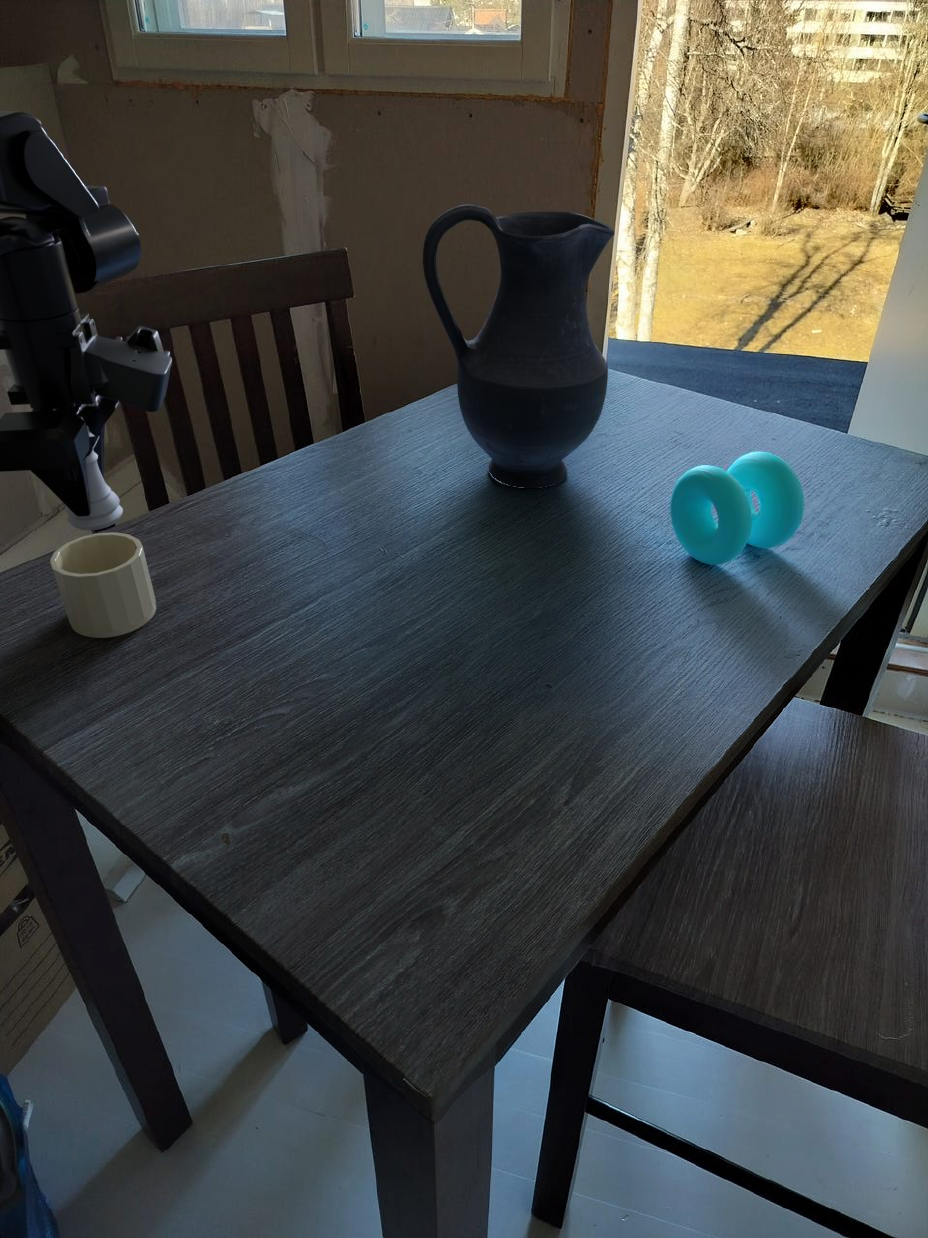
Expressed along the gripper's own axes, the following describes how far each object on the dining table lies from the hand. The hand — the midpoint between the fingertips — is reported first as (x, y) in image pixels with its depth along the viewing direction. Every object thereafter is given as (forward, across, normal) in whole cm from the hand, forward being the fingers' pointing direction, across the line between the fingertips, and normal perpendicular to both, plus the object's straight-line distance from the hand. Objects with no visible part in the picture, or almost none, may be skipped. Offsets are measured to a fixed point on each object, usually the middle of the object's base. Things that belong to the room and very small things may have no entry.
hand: (90, 502), depth 71 cm
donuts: (+12, +6, -60) cm, 61 cm away
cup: (+12, +1, +1) cm, 12 cm away
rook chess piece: (+2, 0, 0) cm, 2 cm away
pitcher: (+13, +27, -41) cm, 50 cm away
